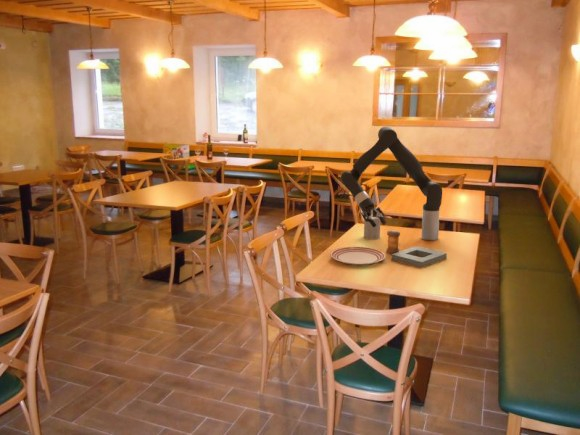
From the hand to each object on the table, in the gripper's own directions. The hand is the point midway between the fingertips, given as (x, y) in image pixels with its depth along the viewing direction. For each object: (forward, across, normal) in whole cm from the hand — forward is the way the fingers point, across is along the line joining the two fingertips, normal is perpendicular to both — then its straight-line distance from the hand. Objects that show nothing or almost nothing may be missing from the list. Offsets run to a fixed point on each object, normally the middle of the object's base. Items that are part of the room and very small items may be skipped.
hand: (380, 225), depth 282 cm
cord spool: (+16, 0, +3) cm, 16 cm away
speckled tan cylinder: (-3, +16, +22) cm, 28 cm away
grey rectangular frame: (+28, -1, -9) cm, 29 cm away
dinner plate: (+13, -24, +6) cm, 28 cm away
